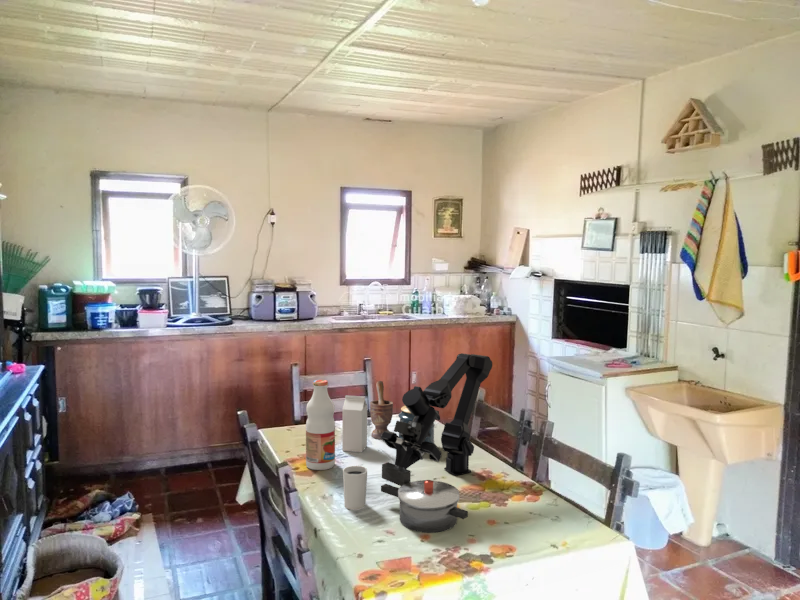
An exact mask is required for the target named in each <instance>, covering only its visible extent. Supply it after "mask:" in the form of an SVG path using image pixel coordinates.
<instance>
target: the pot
mask: <svg viewBox="0 0 800 600" xmlns="http://www.w3.org/2000/svg"><path fill="white" fill-rule="evenodd" d="M399 488H400V487H397V486H393V485H390V484H387V483H384V484H382V485H380V492H381V493H384V494H387V495H390V496H393V497H396V498H398V489H399ZM468 515H469V511H468V510H465V509H462V508H460V507H458V502H457V503H456V504H455V505H453V506H450V507H447V508H443V509H435V510H426V509H418V508H413V507H410V506H407V505H405V504H403V503H402V502H401V501H400V500H399V522H400V524H401V525H402V526H404V527H405V528H406V529H409V530H412V531H413V532H418V533H424V534H425V533H427V534H435V533H442V532H446V531H449V530H451V529H452V528H454V527H455V526H456V525H457V522H458V519H462V520H464V519H466V518H468Z"/></svg>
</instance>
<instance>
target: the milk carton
mask: <svg viewBox="0 0 800 600" xmlns="http://www.w3.org/2000/svg"><path fill="white" fill-rule="evenodd" d="M341 414H342V418H341V419H342V428H341V429H342V434H341V436H342V437H341V439H342V441H341V442H342V444H341V445H342V446H341V447H342V448H341V449H342V451H343V452H351V453H352V452H353V453H362V452H363V451H364V450H365V449H366V448H367V446H368V403H367V401H366V396H359V395H358V396H357V395H345V397H344V401H343V405H342V413H341Z"/></svg>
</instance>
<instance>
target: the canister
mask: <svg viewBox="0 0 800 600" xmlns="http://www.w3.org/2000/svg"><path fill="white" fill-rule="evenodd" d="M400 410H401V412H400V413H399V414H398V418H399V421H401V422H405V423H408V422H409V421H413V419H414V417H415V416H414V415H412V414H411V412H410V411H409V410H408V408H407V407H406V406H405V405H403V406H401V408H400ZM435 426H436V425H435V422H434V423H433V425H432V427H431V429H430V431H429V433H430V434H431V435H430V437H426V439H425V441H426V442H430V443H434V444H435ZM398 437H399V438H401V439H403V437H401V436H400V433H399V432H398Z"/></svg>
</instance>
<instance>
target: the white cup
mask: <svg viewBox="0 0 800 600" xmlns="http://www.w3.org/2000/svg"><path fill="white" fill-rule="evenodd" d="M342 475H343V476H342V477H343V479H342V481H343V498H344V499H343V502H344V507H345V508H346V509H347V510H351V511H353V510H354V511H358V510H362V509H364V508H365V507H366V502H367V484H368V482H367V481H368V469H367V468H366V467H365V466H361V465H350V466H346V467H344V468H343V469H342Z"/></svg>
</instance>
